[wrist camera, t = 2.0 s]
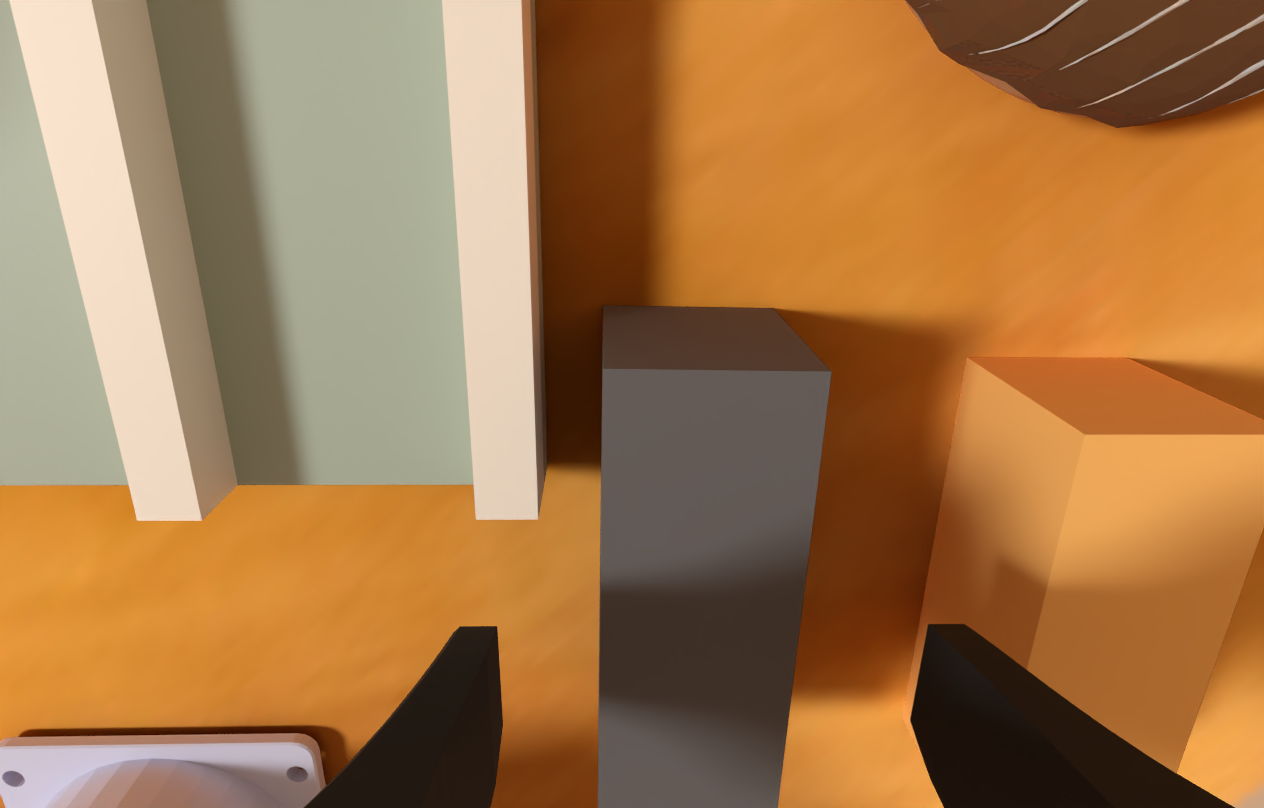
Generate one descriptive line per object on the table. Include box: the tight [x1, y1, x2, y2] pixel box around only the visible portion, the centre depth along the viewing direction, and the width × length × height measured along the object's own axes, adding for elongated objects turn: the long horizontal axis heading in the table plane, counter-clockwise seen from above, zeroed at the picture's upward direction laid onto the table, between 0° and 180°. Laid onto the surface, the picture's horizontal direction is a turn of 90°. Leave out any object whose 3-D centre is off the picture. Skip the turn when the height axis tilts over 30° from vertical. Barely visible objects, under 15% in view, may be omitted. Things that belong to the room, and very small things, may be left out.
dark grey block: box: [598, 305, 832, 808], centre depth 16 cm, size 10×4×4 cm, turn 179°
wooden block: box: [902, 357, 1264, 773], centre depth 16 cm, size 10×4×4 cm, turn 179°
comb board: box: [0, 0, 547, 521], centre depth 13 cm, size 15×14×2 cm
